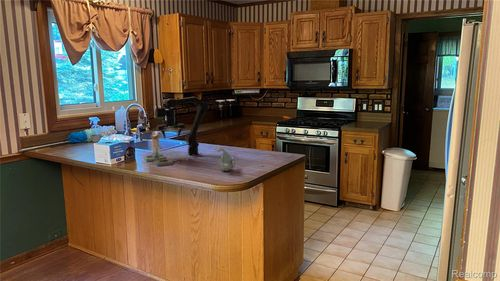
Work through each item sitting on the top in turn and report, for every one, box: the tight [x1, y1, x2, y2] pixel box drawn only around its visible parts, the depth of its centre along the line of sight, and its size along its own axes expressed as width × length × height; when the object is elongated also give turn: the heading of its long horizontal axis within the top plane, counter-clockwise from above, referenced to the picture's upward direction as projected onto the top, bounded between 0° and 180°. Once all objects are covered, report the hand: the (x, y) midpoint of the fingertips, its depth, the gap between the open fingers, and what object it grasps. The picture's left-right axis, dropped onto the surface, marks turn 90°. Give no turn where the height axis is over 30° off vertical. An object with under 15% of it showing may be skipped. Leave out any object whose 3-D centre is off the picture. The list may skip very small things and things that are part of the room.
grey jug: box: [216, 146, 236, 172], centre depth 219 cm, size 17×10×15 cm, turn 5°
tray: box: [144, 153, 168, 163], centre depth 253 cm, size 13×10×2 cm
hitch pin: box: [150, 134, 161, 158], centre depth 253 cm, size 6×6×16 cm
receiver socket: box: [154, 158, 174, 167], centre depth 239 cm, size 9×9×2 cm
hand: (171, 139), depth 257 cm, fingers open, 9 cm apart
